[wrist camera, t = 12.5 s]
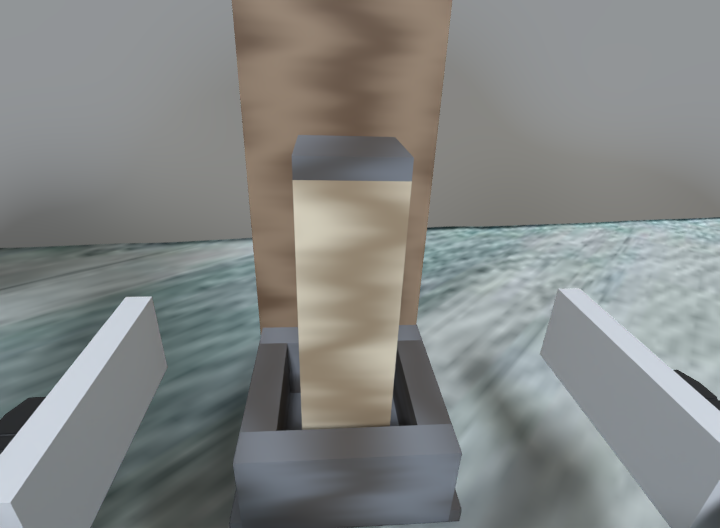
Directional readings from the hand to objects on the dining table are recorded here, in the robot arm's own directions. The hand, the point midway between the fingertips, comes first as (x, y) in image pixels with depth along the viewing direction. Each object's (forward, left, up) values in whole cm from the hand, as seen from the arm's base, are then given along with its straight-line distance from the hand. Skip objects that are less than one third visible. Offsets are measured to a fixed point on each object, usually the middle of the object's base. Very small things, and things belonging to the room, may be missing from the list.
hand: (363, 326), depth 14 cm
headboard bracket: (-3, +8, -10) cm, 13 cm away
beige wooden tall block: (-2, +4, -10) cm, 11 cm away
